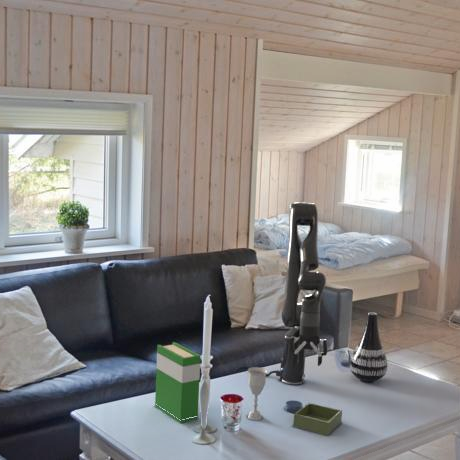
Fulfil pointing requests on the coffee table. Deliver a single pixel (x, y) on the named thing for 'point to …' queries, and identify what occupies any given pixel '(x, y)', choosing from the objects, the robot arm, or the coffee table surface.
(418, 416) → the coffee table surface
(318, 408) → the tub
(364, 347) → the vase
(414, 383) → the coffee table surface
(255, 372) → the chalice
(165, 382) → the hardback book
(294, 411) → the blue round puck
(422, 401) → the coffee table surface
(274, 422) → the coffee table surface
